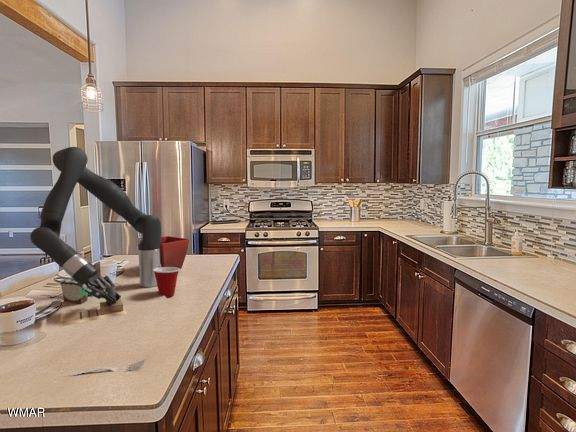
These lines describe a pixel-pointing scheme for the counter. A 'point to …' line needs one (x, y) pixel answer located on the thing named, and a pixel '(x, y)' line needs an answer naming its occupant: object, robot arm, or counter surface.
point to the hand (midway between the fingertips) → (116, 300)
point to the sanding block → (111, 308)
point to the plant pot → (172, 251)
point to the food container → (73, 291)
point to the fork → (114, 368)
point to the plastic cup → (166, 280)
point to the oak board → (85, 315)
